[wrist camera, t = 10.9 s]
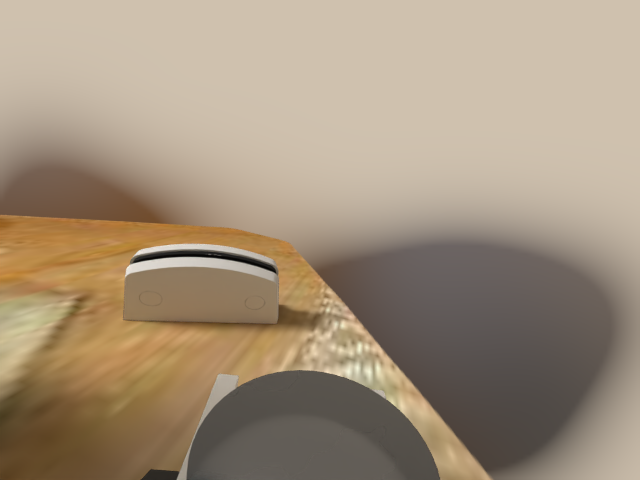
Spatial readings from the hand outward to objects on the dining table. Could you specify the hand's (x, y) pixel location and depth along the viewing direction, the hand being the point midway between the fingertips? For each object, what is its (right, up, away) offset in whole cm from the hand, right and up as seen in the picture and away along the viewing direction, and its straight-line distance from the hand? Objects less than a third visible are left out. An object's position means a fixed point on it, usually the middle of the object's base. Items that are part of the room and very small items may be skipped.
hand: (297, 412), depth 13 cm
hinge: (-12, -2, +25) cm, 28 cm away
